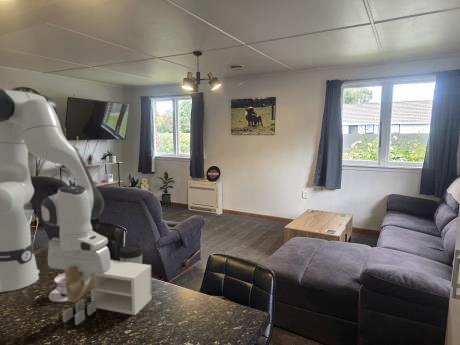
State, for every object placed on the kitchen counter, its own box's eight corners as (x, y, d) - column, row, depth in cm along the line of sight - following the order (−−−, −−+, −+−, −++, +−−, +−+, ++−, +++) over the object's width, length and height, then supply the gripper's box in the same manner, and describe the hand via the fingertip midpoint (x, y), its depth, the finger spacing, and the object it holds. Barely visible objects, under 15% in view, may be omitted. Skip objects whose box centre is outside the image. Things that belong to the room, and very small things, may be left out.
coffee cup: (136, 294, 106) (135, 253, 104) (115, 291, 107) (113, 251, 106) (147, 283, 114) (146, 245, 112) (127, 280, 115) (126, 243, 114)
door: (65, 300, 89) (62, 268, 87) (86, 286, 97) (83, 257, 95) (74, 302, 88) (71, 269, 87) (94, 287, 96) (92, 258, 95)
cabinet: (63, 321, 89) (60, 283, 88) (105, 290, 108) (104, 258, 106) (116, 333, 85) (115, 292, 83) (151, 298, 103) (150, 265, 101)
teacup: (66, 283, 113) (65, 268, 112) (94, 287, 111) (93, 271, 110) (40, 300, 102) (39, 283, 101) (70, 304, 99) (69, 287, 98)
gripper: (40, 240, 90) (44, 284, 91) (98, 246, 84) (101, 292, 86) (57, 233, 96) (60, 275, 97) (112, 238, 90) (115, 282, 92)
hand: (80, 283), depth 92 cm, fingers closed on door, 2 cm apart
